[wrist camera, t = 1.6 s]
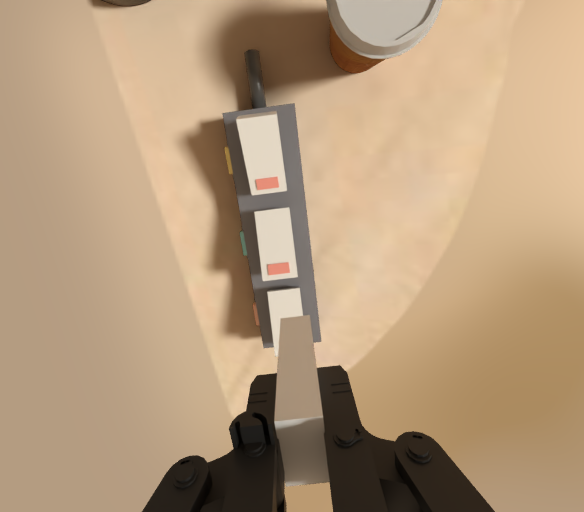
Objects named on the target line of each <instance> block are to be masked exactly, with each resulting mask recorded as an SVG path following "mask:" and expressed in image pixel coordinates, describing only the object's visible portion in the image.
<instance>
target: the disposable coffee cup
mask: <svg viewBox="0 0 584 512" xmlns="http://www.w3.org/2000/svg"><path fill="white" fill-rule="evenodd" d="M326 2H327V8H328V15H329V18H330V50H331V54H332V57H333V59H334V61H335V62H336V64H337V65H338V66H339V67H340V68H342V69H343V70H345V71H348V72H350V73H361V72H364V71H366V70H368V69H370V68H371V67H373V66H375V65H376V64H378V63H380V62H381V61H383V60H385V59H389V58H392V57H395V56H399V55H401V54H403V53H405V52H407V51H408V50H410V49H412V48H413V47H414V46H415V45H417V44H418V43H419V42H420V41H421V40H422V39H423V38H424V37H425V36H426V34H427V33H428V32H429V30H430V29H431V27H432V25H433V24H434V22H435V20H436V18H437V16H438V13H439V10H440V8H441V5H442V0H326Z"/></svg>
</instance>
